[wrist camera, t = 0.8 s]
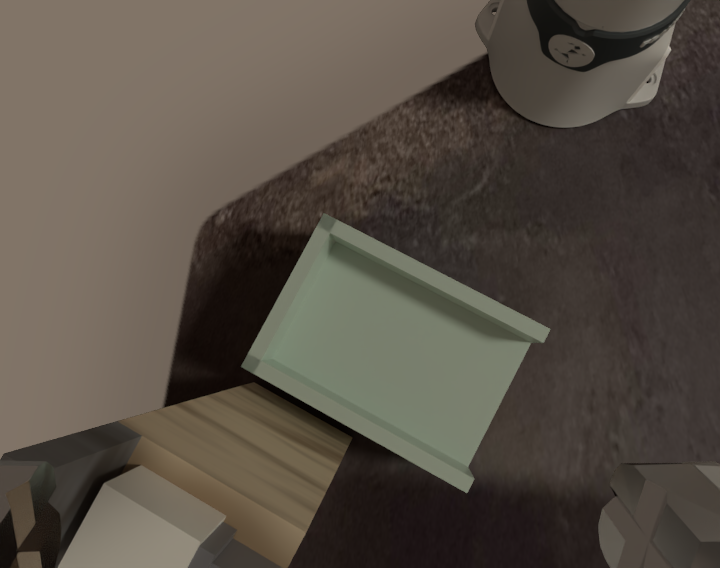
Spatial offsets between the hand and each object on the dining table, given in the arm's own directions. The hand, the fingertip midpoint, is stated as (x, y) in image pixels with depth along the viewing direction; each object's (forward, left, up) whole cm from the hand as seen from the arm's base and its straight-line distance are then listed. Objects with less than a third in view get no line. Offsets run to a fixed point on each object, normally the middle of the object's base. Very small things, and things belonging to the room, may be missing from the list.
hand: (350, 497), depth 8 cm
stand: (+11, -6, -45) cm, 47 cm away
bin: (-2, -1, -45) cm, 45 cm away
